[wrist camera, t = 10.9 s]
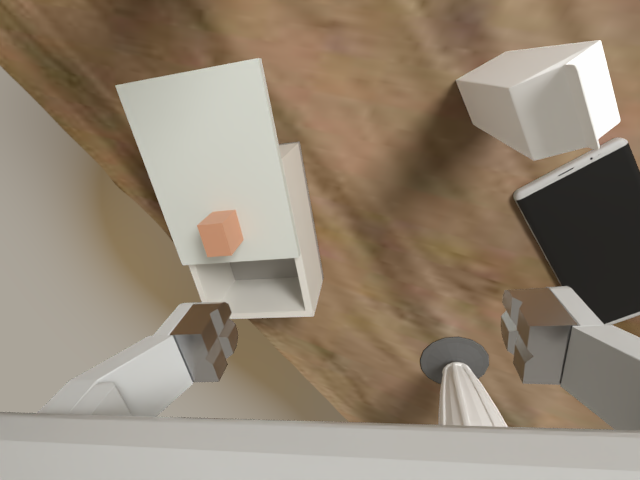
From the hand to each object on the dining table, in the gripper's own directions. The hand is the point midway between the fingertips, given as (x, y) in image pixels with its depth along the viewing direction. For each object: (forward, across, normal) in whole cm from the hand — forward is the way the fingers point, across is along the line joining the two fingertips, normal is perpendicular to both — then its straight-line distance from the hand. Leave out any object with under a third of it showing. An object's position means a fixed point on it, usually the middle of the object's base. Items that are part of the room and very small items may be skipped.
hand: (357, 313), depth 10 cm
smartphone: (+40, -30, +20) cm, 54 cm away
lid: (+29, +18, +2) cm, 34 cm away
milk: (+39, -14, -2) cm, 42 cm away
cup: (+39, -10, +42) cm, 58 cm away
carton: (+39, +18, +12) cm, 45 cm away
